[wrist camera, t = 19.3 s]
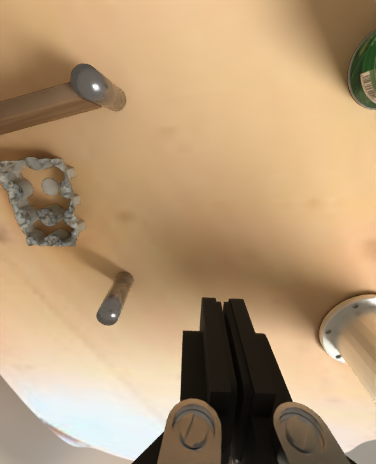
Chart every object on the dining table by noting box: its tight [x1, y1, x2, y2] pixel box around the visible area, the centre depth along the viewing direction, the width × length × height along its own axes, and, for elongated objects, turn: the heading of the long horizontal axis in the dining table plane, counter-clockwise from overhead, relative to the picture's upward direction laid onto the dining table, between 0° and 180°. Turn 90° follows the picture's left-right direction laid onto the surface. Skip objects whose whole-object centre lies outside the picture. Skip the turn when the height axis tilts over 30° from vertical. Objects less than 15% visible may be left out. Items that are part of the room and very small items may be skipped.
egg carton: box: [0, 157, 85, 247], centre depth 29 cm, size 11×8×4 cm
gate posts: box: [71, 64, 133, 325], centre depth 27 cm, size 2×25×8 cm, turn 178°
